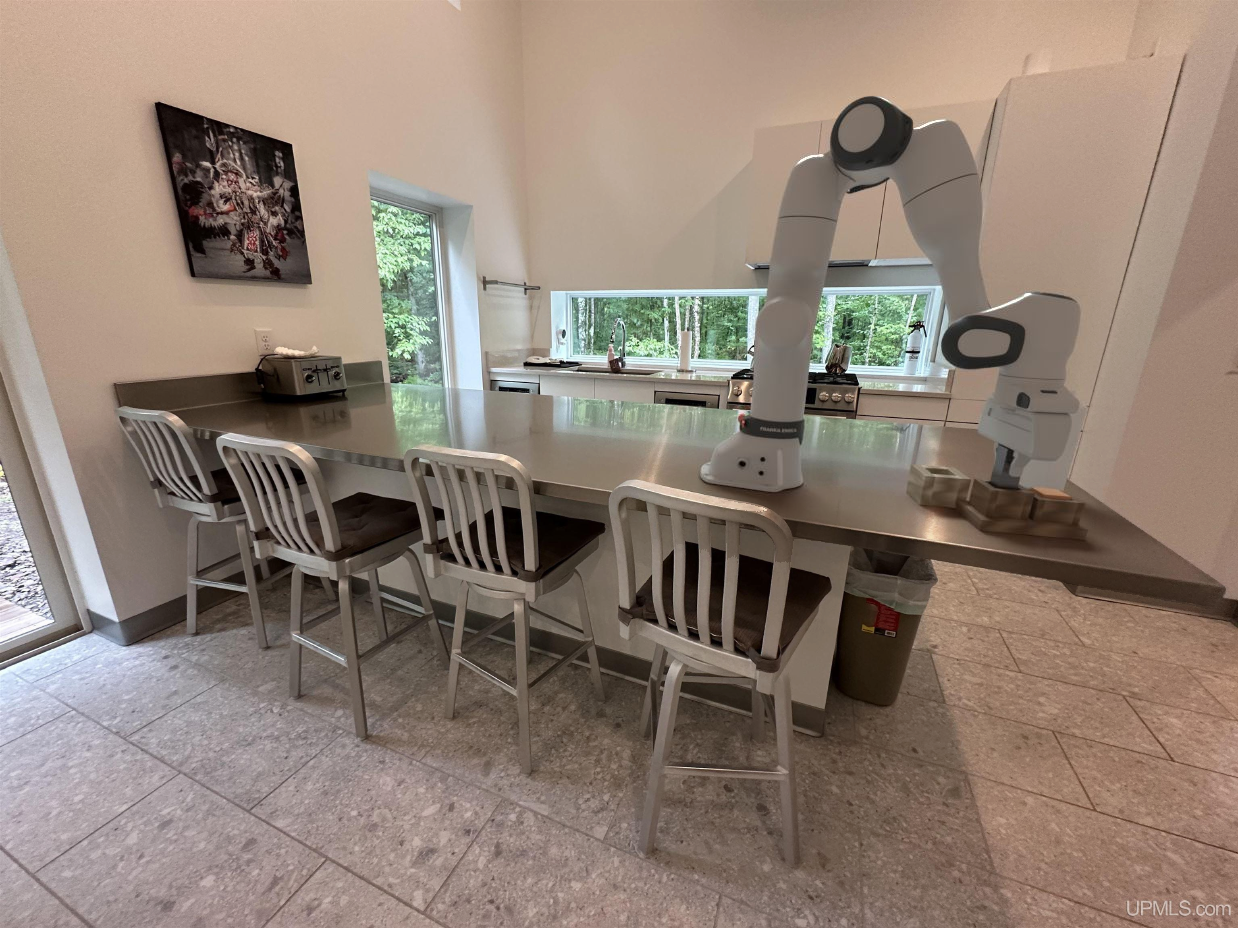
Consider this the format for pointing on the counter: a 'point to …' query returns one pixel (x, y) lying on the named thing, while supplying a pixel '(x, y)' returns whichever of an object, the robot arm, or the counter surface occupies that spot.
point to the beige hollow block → (937, 485)
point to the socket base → (1022, 512)
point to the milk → (1056, 471)
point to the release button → (1050, 493)
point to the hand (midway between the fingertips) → (1006, 471)
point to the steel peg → (1003, 470)
